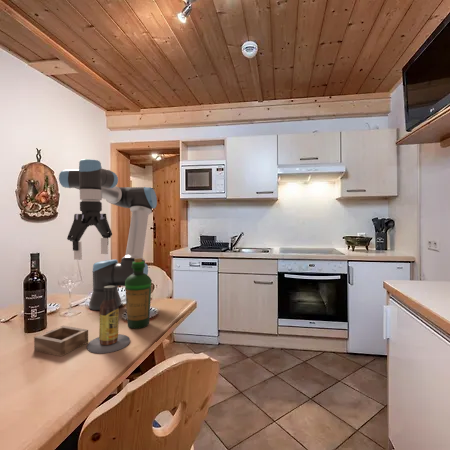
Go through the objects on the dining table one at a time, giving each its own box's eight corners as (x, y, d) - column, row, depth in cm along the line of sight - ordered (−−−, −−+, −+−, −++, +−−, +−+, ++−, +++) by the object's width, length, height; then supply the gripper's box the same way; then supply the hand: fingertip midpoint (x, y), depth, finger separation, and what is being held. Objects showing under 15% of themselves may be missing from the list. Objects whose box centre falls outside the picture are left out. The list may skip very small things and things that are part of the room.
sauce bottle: (111, 347, 94) (111, 289, 94) (95, 345, 95) (95, 288, 95) (122, 339, 101) (122, 285, 100) (106, 337, 102) (106, 284, 101)
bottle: (119, 328, 112) (119, 259, 111) (135, 319, 122) (135, 256, 121) (142, 331, 109) (142, 261, 108) (156, 322, 119) (156, 257, 118)
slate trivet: (107, 333, 107) (107, 331, 107) (137, 338, 102) (137, 337, 102) (77, 349, 94) (77, 347, 94) (110, 356, 89) (110, 354, 89)
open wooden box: (63, 337, 103) (63, 325, 103) (88, 342, 99) (88, 329, 99) (34, 350, 93) (34, 337, 93) (60, 356, 89) (60, 342, 89)
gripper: (105, 202, 118) (106, 251, 119) (54, 199, 94) (56, 261, 95) (120, 202, 116) (121, 252, 117) (72, 199, 92) (73, 262, 93)
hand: (92, 256), depth 106 cm, fingers open, 13 cm apart
